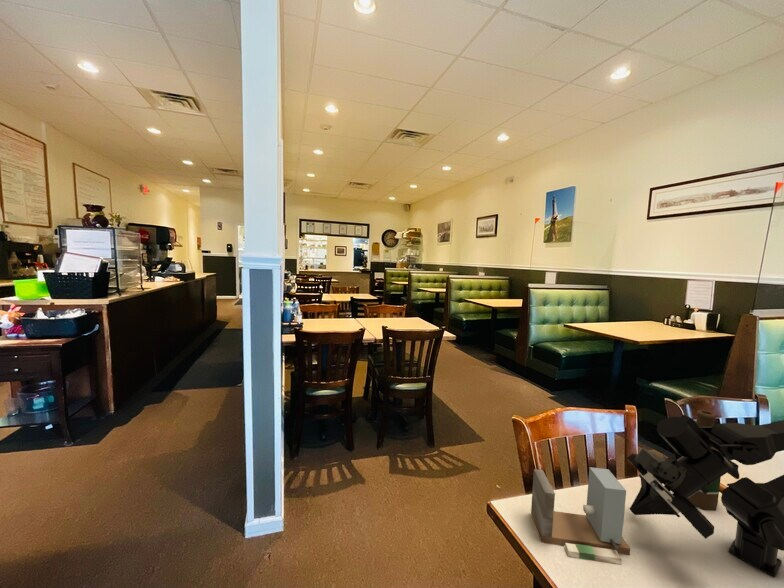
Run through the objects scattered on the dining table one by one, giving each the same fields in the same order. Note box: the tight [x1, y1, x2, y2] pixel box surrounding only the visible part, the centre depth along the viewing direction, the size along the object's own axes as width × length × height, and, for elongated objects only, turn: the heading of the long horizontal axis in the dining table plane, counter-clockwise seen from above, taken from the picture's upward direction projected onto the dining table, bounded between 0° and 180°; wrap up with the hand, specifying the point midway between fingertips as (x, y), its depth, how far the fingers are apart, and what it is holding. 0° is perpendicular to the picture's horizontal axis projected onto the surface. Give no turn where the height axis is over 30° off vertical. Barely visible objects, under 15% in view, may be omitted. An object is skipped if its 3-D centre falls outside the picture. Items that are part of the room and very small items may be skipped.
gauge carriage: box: [582, 466, 627, 551], centre depth 68 cm, size 6×9×12 cm, turn 171°
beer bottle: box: [688, 409, 722, 511], centre depth 81 cm, size 8×8×24 cm
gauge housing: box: [530, 468, 631, 565], centre depth 69 cm, size 18×11×12 cm, turn 81°
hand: (631, 512), depth 69 cm, fingers closed
